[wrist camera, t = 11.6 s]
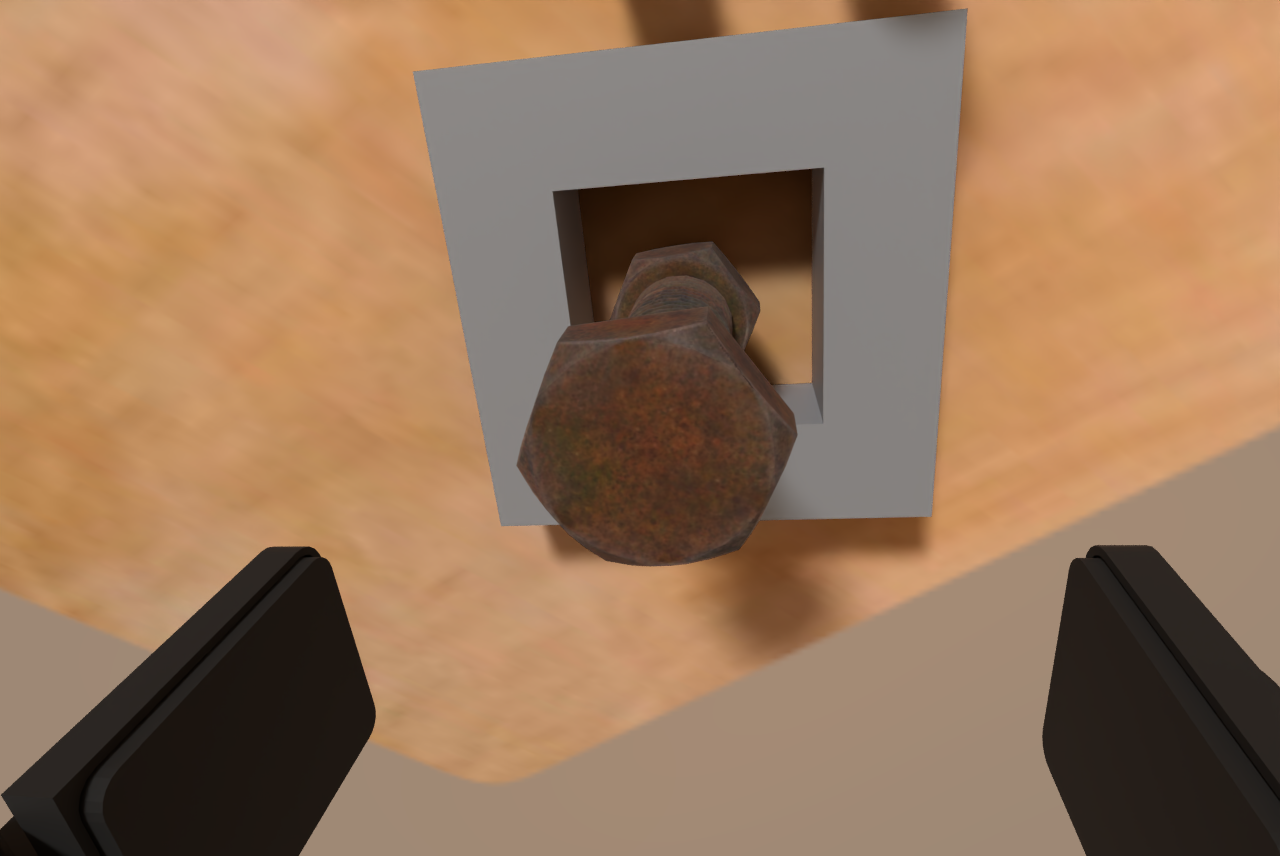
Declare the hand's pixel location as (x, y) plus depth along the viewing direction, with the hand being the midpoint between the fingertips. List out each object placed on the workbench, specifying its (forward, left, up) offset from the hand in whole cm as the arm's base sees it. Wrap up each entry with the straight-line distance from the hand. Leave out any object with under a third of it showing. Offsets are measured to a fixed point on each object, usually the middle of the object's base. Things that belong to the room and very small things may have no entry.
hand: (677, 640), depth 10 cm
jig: (+1, 0, -21) cm, 20 cm away
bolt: (+1, 0, -21) cm, 21 cm away
